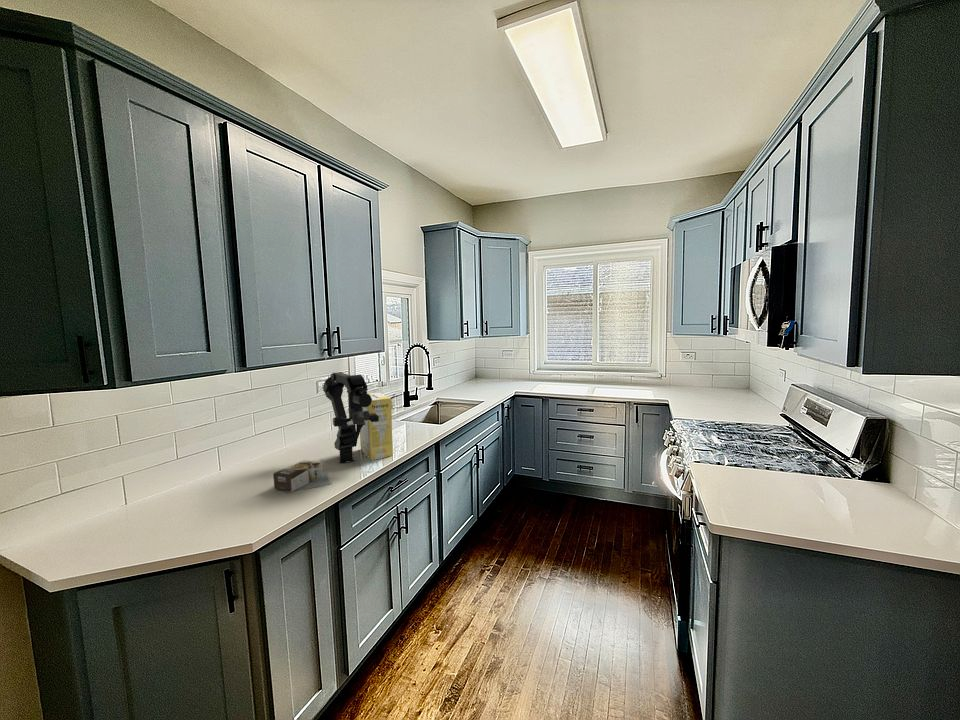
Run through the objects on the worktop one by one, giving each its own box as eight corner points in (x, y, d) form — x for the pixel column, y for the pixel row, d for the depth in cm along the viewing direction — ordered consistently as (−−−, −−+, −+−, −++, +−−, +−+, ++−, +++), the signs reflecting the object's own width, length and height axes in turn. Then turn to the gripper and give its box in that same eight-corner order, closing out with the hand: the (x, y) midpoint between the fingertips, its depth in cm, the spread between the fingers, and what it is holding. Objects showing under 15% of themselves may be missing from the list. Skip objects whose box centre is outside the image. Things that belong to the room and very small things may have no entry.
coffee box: (321, 461, 164) (291, 476, 149) (322, 476, 165) (291, 492, 150) (304, 458, 167) (272, 472, 152) (304, 473, 168) (273, 488, 153)
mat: (284, 476, 166) (284, 475, 166) (325, 469, 173) (325, 469, 173) (285, 492, 150) (285, 492, 150) (330, 484, 157) (330, 483, 157)
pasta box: (360, 449, 201) (358, 394, 198) (381, 445, 206) (379, 392, 203) (371, 459, 185) (368, 400, 182) (392, 455, 191) (391, 398, 188)
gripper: (335, 409, 161) (337, 447, 163) (381, 404, 170) (382, 440, 172) (331, 404, 171) (333, 440, 173) (375, 400, 180) (376, 434, 181)
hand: (356, 438), depth 174 cm, fingers closed
